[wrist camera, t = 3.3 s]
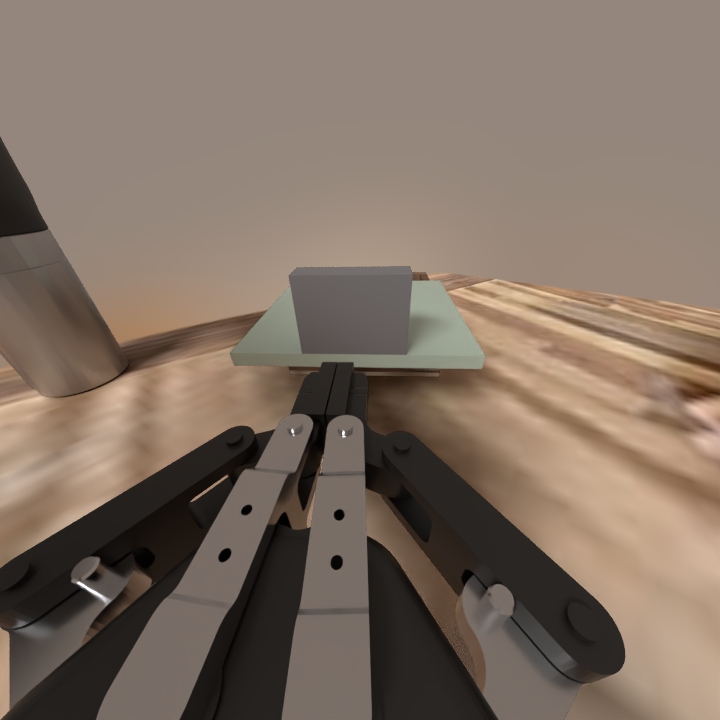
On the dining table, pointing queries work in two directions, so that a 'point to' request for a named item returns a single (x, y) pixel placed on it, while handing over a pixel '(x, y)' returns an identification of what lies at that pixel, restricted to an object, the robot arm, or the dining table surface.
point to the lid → (361, 323)
